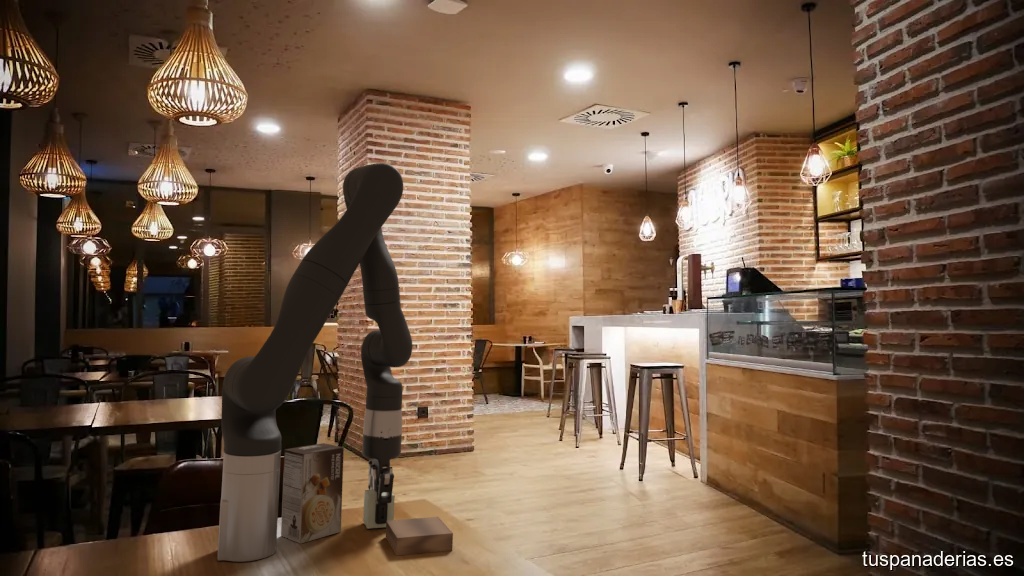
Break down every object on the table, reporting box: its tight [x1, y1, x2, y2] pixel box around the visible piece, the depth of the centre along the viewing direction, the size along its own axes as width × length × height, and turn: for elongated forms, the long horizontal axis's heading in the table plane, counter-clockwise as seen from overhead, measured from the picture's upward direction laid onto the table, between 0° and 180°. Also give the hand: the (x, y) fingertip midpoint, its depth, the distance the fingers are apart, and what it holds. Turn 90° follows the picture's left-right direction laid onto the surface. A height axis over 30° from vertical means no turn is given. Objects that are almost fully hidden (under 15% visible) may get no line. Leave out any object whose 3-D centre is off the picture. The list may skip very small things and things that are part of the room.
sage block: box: [362, 489, 396, 530], centre depth 131 cm, size 5×5×6 cm
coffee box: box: [280, 442, 345, 544], centre depth 125 cm, size 9×6×16 cm
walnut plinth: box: [385, 516, 454, 557], centre depth 122 cm, size 10×10×3 cm
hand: (378, 518), depth 131 cm, fingers closed on sage block, 5 cm apart
